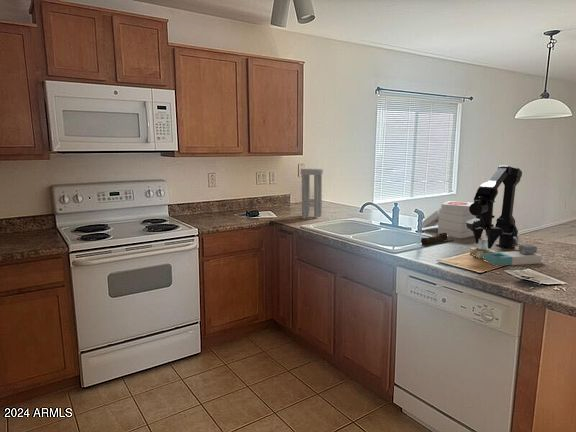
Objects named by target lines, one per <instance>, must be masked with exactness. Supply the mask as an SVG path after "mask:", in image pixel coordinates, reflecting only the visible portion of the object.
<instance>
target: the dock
mask: <svg viewBox="0 0 576 432" xmlns="http://www.w3.org/2000/svg"><path fill="white" fill-rule="evenodd" d="M542 259H543V255H542V254H540V253H537V252H536V253H533V254H531V255H525V254H523V253H521V252H518V251H516V250H514V251H499V252H498V251H496V252H494V253H484V258H483V260H486V261H488V262H490V263H492V264H494V265H500V266H513V265H514V266H517V265H530V264H531V265H534V264H542V262H543V261H542ZM488 262H487V263H488ZM490 263H489V264H490ZM492 264H491V265H492ZM494 265H493V266H494Z"/></svg>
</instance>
